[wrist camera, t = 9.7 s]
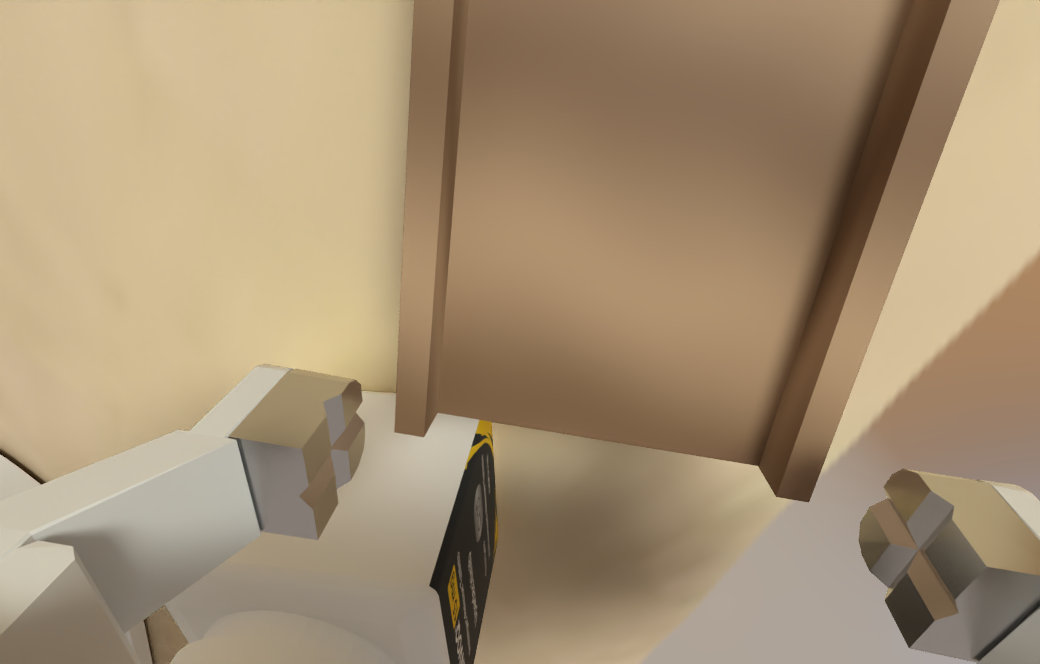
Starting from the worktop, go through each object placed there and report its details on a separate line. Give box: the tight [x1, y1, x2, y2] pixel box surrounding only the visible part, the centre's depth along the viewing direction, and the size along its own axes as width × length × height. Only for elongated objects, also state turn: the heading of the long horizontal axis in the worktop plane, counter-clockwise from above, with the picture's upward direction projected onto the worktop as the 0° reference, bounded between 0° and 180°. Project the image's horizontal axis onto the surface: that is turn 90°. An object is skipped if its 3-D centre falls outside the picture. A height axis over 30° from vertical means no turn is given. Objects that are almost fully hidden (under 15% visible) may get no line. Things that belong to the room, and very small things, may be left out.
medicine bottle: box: [165, 391, 498, 664], centre depth 14 cm, size 7×7×12 cm
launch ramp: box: [394, 0, 1000, 502], centre depth 9 cm, size 12×8×6 cm, turn 174°
